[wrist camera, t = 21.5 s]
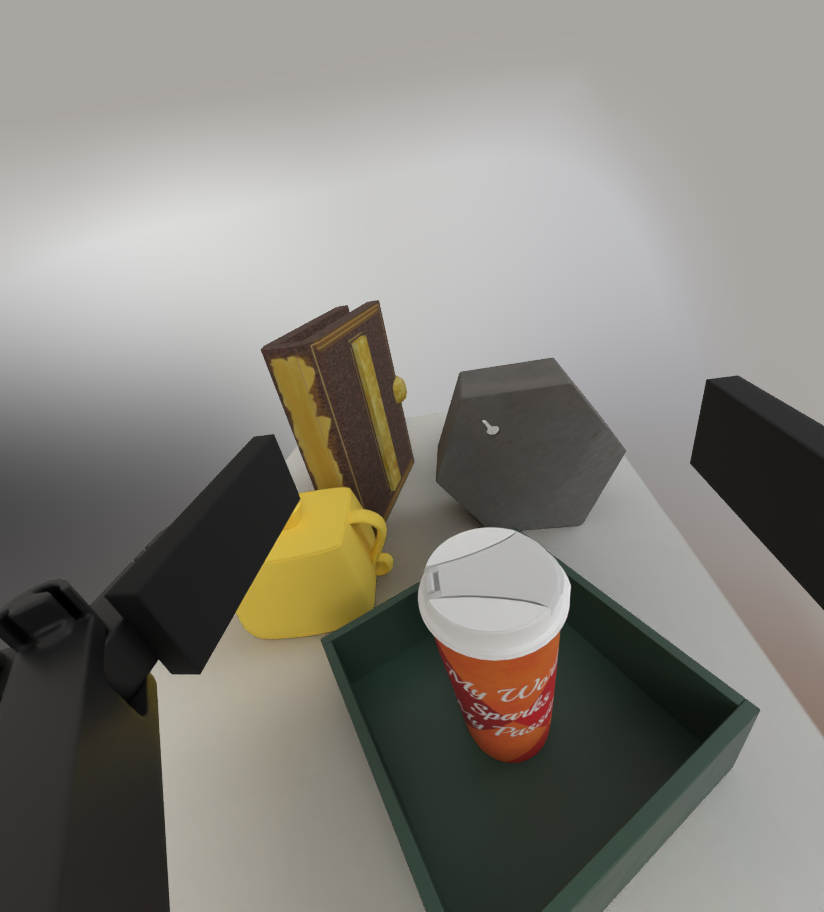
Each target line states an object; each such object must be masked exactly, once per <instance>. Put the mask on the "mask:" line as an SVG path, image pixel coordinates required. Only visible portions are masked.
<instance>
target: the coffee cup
mask: <svg viewBox="0 0 824 912" xmlns="http://www.w3.org/2000/svg"><path fill="white" fill-rule="evenodd" d="M570 591H571V584H570V582H569V579H568V577H567V575H566V573H565V572H564V570H563V568H562V567H561V566H560V565H559V563H558V562H557V560H556V559H555V558H554V557H553V556H552V555H551V554H550V553H548V552H547V551H546V550H545V549H544V548H543V547H542V546H541V545H540V544H539V543H537V542H536V541H534V540H532V539H531V538H529V537H527V536H525V535H523V534H521V533H519V532H517V531H514V530H510V529H505V528H496V527H486V528H477V529H472V530H468V531H465V532H462V533H459V534H457V535H455V536H453V537H451V538H449V539H448V540H446V541H445V542H443V543H442V544H441V545H440V546H439V547H438V548H437V549H436V550H435V551H434V552H433V553H432V555H431V556H430V558H429V560H428V561H427V564H426V566H425V568H424V574H423V577H422V579H421V582H420V585H419V590H418V604H419V610H420V613H421V616H422V619H423V621H424V623H425V624H426V626H427V628H428V629H429V631H430V632H431V633H432V634H433V635H434V638H435V641H436V644H437V647H438V650H439V652H440V655H441V658H442V660H443V663H444V665H445V668H446V671H447V673H448V676H449V678H450V681H451V684H452V687H453V689H454V692H455V695H456V698H457V701H458V703H459V706H460V709H461V712H462V714H463V717H464V720H465V722H466V725H467V727H468V730H469V732H470V734H471V736H472V738H473V739H474V741H475V742H476V744H477V745H478V746H479V747H480V748H481V749H482V750H483V751H484V752H485V753H486V754H488V755H489V756H491V757H492V758H494V759H497V760H499V761H502V762H507V763H518V762H523V761H526V760H528V759H530V758H532V757H533V756H535V755H536V754H537V753H538V752H539V751H540V750H541V748H542V747H543V745H544V744H545V742H546V740H547V737H548V734H549V729H550V724H551V717H552V708H553V699H554V689H555V680H556V670H557V659H558V649H559V639H560V630H561V628H562V627H563V625H564V623H565V621H566V619H567V616H568V612H569V607H570Z"/></svg>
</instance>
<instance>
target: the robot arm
mask: <svg viewBox="0 0 824 912" xmlns="http://www.w3.org/2000/svg"><path fill="white" fill-rule="evenodd" d="M690 464H691V465H692V466H693V467H694V468H695V469H696V470H697V471H698V472H699V474H700V475H701V476H702V477H703V478H704V479H705V480H706V481H707V482H708V484H709V485H710V486H711V487H712V488H713V489H714V490H715V491H716V492H717V493H718V495H719V496H720V497H721V498H722V499H723V500H724V501H725V502H726V503H727V504H728V505H729V507H730V508H731V509H732V510H733V511H734V512H735V513H736V514H737V515H738V517H739V518H741V520H742V521H743V522H744V523H745V524H746V525H747V526H748V527H749V529H750V530H751V531H752V532H753V533H754V534H755V535H756V536H757V537H758V538H759V539H760V541H761V542H762V543H763V544H764V545H765V546H766V547H767V548H768V549H769V551H770V552H771V553H772V554H773V555H774V556H775V557H776V558H777V559H778V560H779V561H780V563H781V564H782V565H783V566H784V567H785V568H786V569H787V570H788V571H789V572H790V574H791V575H792V576H793V577H794V578H795V579H796V580H797V581H798V582H799V583H800V584H801V586H802V587H803V588H804V589H805V590H806V591H807V592H808V593H809V594H810V596H811V597H812V598H813V599H814V600H815V601H816V602H817V603H818V604H819V605H820V606H821V607H822V609H823V610H824V426H823V425H821V424H820V423H818V422H816V421H815V420H813V419H811V418H810V417H808V416H806V415H804V414H803V413H801V412H799V411H798V410H796V409H794V408H792V407H791V406H789V405H787V404H786V403H784V402H782V401H781V400H779V399H777V398H775V397H774V396H772V395H770V394H769V393H767V392H765V391H763V390H761V389H760V388H758V387H757V386H755V385H753V384H752V383H750V382H748V381H746V380H745V379H743V378H741V377H740V376H731V377H723V378H715V379H707V380H706V385H705V390H704V395H703V400H702V405H701V410H700V415H699V420H698V426H697V431H696V436H695V441H694V446H693V451H692V456H691V461H690ZM300 499H301V498H300V496H299V493H298V491H297V489H296V486H295V484H294V481H293V479H292V476H291V474H290V472H289V469H288V467H287V464H286V462H285V460H284V458H283V455H282V452H281V450H280V448H279V445H278V443H277V441H276V438H275V436H274V435H273V434H272V435H264V436H256V437H253V438H252V439H251V441H249V442H248V443H247V445H246V446H245V447H244V448H243V449H242V450H241V451H240V452H239V453H238V454H237V455H236V456H235V458H233V459H232V460H231V462H230V463H229V464H228V465H227V466H226V467H225V468H224V469H223V470H222V471H221V472H220V473H219V474H218V475H217V476H216V477H215V479H214V480H213V481H212V482H211V483H210V484H209V485H208V486H207V487H206V488H205V489H204V490H203V491H202V492H201V493H200V494H199V496H197V498H196V499H195V500H194V501H193V502H192V503H191V504H190V505H189V506H188V507H187V508H186V509H185V510H184V511H183V512H182V514H181V515H180V516H179V517H178V518H177V519H176V520H175V521H174V522H173V523H172V524H171V525H170V526H168V527H167V528H166V529H164V530H163V531H162V532H160V533H159V534H158V535H157V536H156V537H155V538H154V539H153V540H152V541H151V542H150V543H149V544H148V545H147V546H146V549H145V550H143V551H142V552H141V553H140V554H139V555H138V556H137V557H136V558H135V559H134V562H131V563H130V564H129V565H128V566H127V567H126V568H125V569H124V570H123V571H122V572H121V574H120V575H119V576H118V577H117V578H116V579H115V580H114V581H113V582H112V583H111V584H110V585H109V586H108V587H107V588H106V589H105V590H104V592H102V594H100V596H99V597H98V598H97V599H96V600H95V601H94V602H93V603H92V604H91V605H90V606H89V605H88V604H87V603H86V602H85V600H84V599H83V598H82V597H81V596H80V595H79V594H78V593H77V592H76V591H75V589H74V588H73V587H72V586H71V585H70V584H69V583H68V582H67V581H65V580H62V579H58V580H51V581H47V582H45V583H42V584H40V585H37V586H34V587H33V588H31V589H29V590H27V591H25V592H23V593H21V594H20V595H18V596H17V597H15V598H14V599H13V600H11V601H10V602H8V603H7V604H5V605H4V606H3V607H2V608H1V609H0V638H1V639H2V640H3V641H4V642H6V643H7V644H8V645H9V646H10V648H7V649H3V650H0V912H170V905H169V888H168V871H167V853H166V836H165V819H164V802H163V785H162V767H161V750H160V733H159V716H158V699H157V683H156V681H155V678H154V676H153V675H152V674H151V673H150V671H151V670H152V668H153V667H154V665H155V664H156V662H157V661H158V660H160V661H161V663H162V664H163V665H164V666H165V667H166V668H167V669H168V671H169V672H170V673H171V674H201V672H202V670H203V669H204V667H205V665H206V663H207V662H208V660H209V658H210V656H211V655H212V653H213V651H214V649H215V648H216V646H217V644H218V642H219V641H220V639H221V637H222V635H223V634H224V632H225V630H226V628H227V627H228V625H229V623H230V621H231V620H232V618H233V616H234V614H235V613H236V611H237V609H238V607H239V606H240V604H241V602H242V600H243V599H244V597H245V595H246V593H247V592H248V590H249V588H250V586H251V585H252V583H253V581H254V579H255V578H256V576H257V574H258V572H259V571H260V569H261V567H262V565H263V564H264V562H265V560H266V558H267V557H268V555H269V553H270V551H271V550H272V548H273V546H274V544H275V543H276V541H277V539H278V537H279V536H280V534H281V532H282V530H283V529H284V527H285V525H286V523H287V522H288V520H289V518H290V516H291V515H292V513H293V511H294V509H295V508H296V506H297V504H298V502H299V501H300Z"/></svg>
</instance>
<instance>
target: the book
mask: <svg viewBox="0 0 824 912" xmlns="http://www.w3.org/2000/svg"><path fill="white" fill-rule="evenodd" d="M261 352H262V354H263V356H264V359H265V362H266V364H267V367H268V370H269V372H270V375H271V377H272V380H273V383H274V385H275V388H276V390H277V393H278V395H279V398H280V401H281V403H282V406H283V408H284V411H285V414H286V416H287V419H288V421H289V424H290V427H291V429H292V432H293V434H294V437H295V440H296V442H297V445H298V447H299V450H300V453H301V455H302V458H303V460H304V463H305V465H306V468H307V471H308V473H309V476H310V478H311V481H312V484H313V486H314V489H315V491H316V490H322V489H330V488H340V487H345V488H350V489H351V490H352V492H353V493H354V495H355V496H356V498H357V500H358V501H359V503H360V504H361V506H362V508H363V509H366V510H370V511H373V512H375V513H377V514H379V515H380V516H381V517H382V518H383V519H384V521H385V523H386V521H387V519H388V516H389V514H390V512H391V510H392V508H393V506H394V504H395V502H396V500H397V497H398V495H399V493H400V491H401V489H402V487H403V485H404V483H405V481H406V478H407V476H408V474H409V472H410V470H411V468H412V466H413V464H414V458H413V453H412V449H411V444H410V440H409V435H408V431H407V426H406V421H405V417H404V412H403V408H402V403H401V402H402V401H403V400H404V399H405V398H406V393H407V390H406V385H405V382H404V380H403V379H402V378H400V377H398V376H395V372H394V367H393V363H392V358H391V353H390V349H389V344H388V340H387V336H386V331H385V326H384V322H383V317H382V313H381V308H380V303H379V301H378V300H377V301H371V302H367V303H365V304H363V305H361V306H360V307H358V308H356V309H355V310H353V311H351V312H349V308H348V306H347V305H346V306H340V307H337V308H334V309H332V310H330V311H328V312H327V313H325V314H323V315H321V316H319V317H317V318H315V319H313V320H312V321H310V322H308V323H306V324H304V325H302V326H301V327H299V328H297V329H295V330H293V331H291V332H289V333H287V334H286V335H284V336H282V337H280V338H278V339H276V340H274V341H272V342H271V343H269V344H267V345H265V346H264V347H263V348H262V349H261ZM372 529H373V532H374V535H375V538H377V529H376V528H375V527H373V526H372Z"/></svg>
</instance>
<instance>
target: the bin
mask: <svg viewBox="0 0 824 912" xmlns="http://www.w3.org/2000/svg"><path fill="white" fill-rule="evenodd" d="M510 530H514V531H517V532H519V533H521V534H523V535H525V534H524V533H522V532H521V531H519V530H518V529H517V528H515V527H513V528H512V529H510ZM525 536H526V535H525ZM527 537H528V536H527ZM546 551H547V550H546ZM547 552H548V551H547ZM548 553H549V552H548ZM550 554H551V553H550ZM551 555H552V554H551ZM552 556H553V555H552ZM553 557H554V558H555V559H556V560H557V562H558V563H559V565H560V566H561V567H562V568H563V570H564V572H565V573H566V575H567V577H568V579H569V582H570V584H571V591H570V607H569V612H568V616H567V619H566V621H565V623H564V625H563V627H562V628H561V630H560V639H559V649H558V659H557V670H556V680H555V689H554V699H553V708H552V717H551V724H550V729H549V734H548V737H547V740H546V742H545V744H544V745H543V747H542V748H541V750H540V751H539V752H538V753H537V754H536V755H535V756H533V757H532V758H530V759H528V760H526V761H523V762H518V763H507V762H502V761H499V760H497V759H494V758H492V757H491V756H489V755H488V754H486V753H485V752H484V751H483V750H482V749H481V748H480V747H479V746H478V745H477V744H476V742H475V741H474V739H473V738H472V736H471V734H470V732H469V730H468V727H467V725H466V722H465V720H464V717H463V714H462V712H461V709H460V706H459V703H458V701H457V698H456V695H455V692H454V689H453V687H452V684H451V681H450V678H449V676H448V673H447V671H446V668H445V665H444V663H443V660H442V658H441V655H440V652H439V650H438V647H437V644H436V641H435V638H434V635H433V634H432V633H431V632H430V631H429V629H428V628H427V626H426V624H425V623H424V621H423V619H422V616H421V613H420V610H419V604H418V590H419V585H420V582H421V581H420V582H418V583H417V584H415V585H413V586H412V587H410V588H408V589H406V590H405V591H403V592H401V593H399V594H398V595H396V596H394V597H393V598H391V599H389V600H387V601H386V602H384V603H382V604H380V605H379V606H377V607H375V608H374V609H372V610H370V611H368V612H367V613H365V614H363V615H361V616H360V617H358V618H356V619H355V620H353V621H351V622H349V623H348V624H346V625H344V626H342V627H341V628H339V629H337V630H336V631H334V632H332V633H330V634H329V635H327V636H325V637H323V638H322V639H321V642H322V645H323V648H324V650H325V653H326V655H327V658H328V660H329V663H330V666H331V668H332V671H333V673H334V676H335V678H336V681H337V684H338V686H339V689H340V691H341V694H342V696H343V699H344V702H345V704H346V707H347V709H348V712H349V714H350V717H351V720H352V722H353V725H354V727H355V730H356V732H357V735H358V738H359V740H360V743H361V745H362V748H363V750H364V753H365V756H366V758H367V761H368V763H369V766H370V768H371V771H372V774H373V776H374V779H375V781H376V784H377V786H378V789H379V792H380V794H381V797H382V799H383V802H384V804H385V807H386V810H387V812H388V815H389V817H390V820H391V822H392V825H393V828H394V830H395V833H396V835H397V838H398V840H399V843H400V846H401V848H402V851H403V853H404V856H405V858H406V861H407V864H408V866H409V869H410V871H411V874H412V876H413V879H414V882H415V884H416V887H417V889H418V892H419V894H420V897H421V900H422V902H423V905H424V907H425V910H426V912H603V911H604V909H605V908H606V907H607V906H608V905H609V904H610V903H611V902H612V901H613V899H614V898H615V897H616V896H617V895H618V894H619V893H620V892H621V891H622V889H623V888H624V887H625V886H626V885H627V884H628V883H629V882H630V881H631V879H632V878H633V877H634V876H635V875H636V874H637V873H638V872H639V871H640V869H641V868H642V867H643V866H644V865H645V864H646V863H647V862H648V861H649V859H650V858H651V857H652V856H653V855H654V854H655V853H656V852H657V851H658V849H659V848H660V847H661V846H662V845H663V844H664V843H665V842H666V841H667V839H668V838H669V837H670V836H671V835H672V834H673V833H674V832H675V831H676V829H677V828H678V827H679V826H680V825H681V824H682V823H683V822H684V821H685V819H686V818H687V817H688V816H689V815H690V814H691V813H692V812H693V811H694V809H695V808H696V807H697V806H698V805H699V804H700V803H701V802H702V801H703V799H704V798H705V797H706V796H707V795H708V794H709V793H710V792H711V791H712V789H713V788H714V787H715V786H716V785H717V784H718V783H719V782H720V781H721V779H722V778H723V777H724V776H725V775H726V774H727V773H728V772H729V771H730V769H731V768H732V767H733V766H734V764H735V761H736V759H737V757H738V755H739V753H740V751H741V749H742V747H743V745H744V743H745V741H746V739H747V737H748V734H749V732H750V730H751V728H752V726H753V724H754V722H755V720H756V718H757V716H758V714H759V712H760V709H759V708H758V707H756V706H755V705H754V704H752V703H751V702H750V701H748V700H747V699H746V700H745V698H744V697H743V696H742V695H740V694H739V693H738V692H736V691H735V690H733V689H732V688H731V687H729V686H728V685H727V684H725V683H724V682H723V681H721V680H720V679H719V678H717V677H716V676H715V675H713V674H712V673H711V672H709V671H708V670H707V669H705V668H704V667H703V666H701V665H700V664H699V663H697V662H696V661H694V660H693V659H692V658H690V657H689V656H688V655H686V654H685V653H684V652H682V651H681V650H680V649H678V648H677V647H676V646H674V645H673V644H672V643H670V642H669V641H668V640H666V639H665V638H664V637H662V636H661V635H660V634H658V633H657V632H655V631H654V630H653V629H651V628H650V627H649V626H647V625H646V624H645V623H643V622H642V621H641V620H639V619H638V618H637V617H635V616H634V615H633V614H631V613H630V612H629V611H627V610H626V609H625V608H623V607H622V606H621V605H619V604H618V603H616V602H615V601H614V600H612V599H611V598H610V597H608V596H607V595H606V594H604V593H603V592H602V591H600V590H599V589H598V588H596V587H595V586H594V585H592V584H591V583H590V582H588V581H587V580H586V579H584V578H583V577H582V576H580V575H579V574H577V573H576V572H575V571H573V570H572V569H571V568H569V567H568V566H567V565H565V564H564V563H563V562H561V561H560V560H559V559H557V558H556V557H555V556H553Z"/></svg>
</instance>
